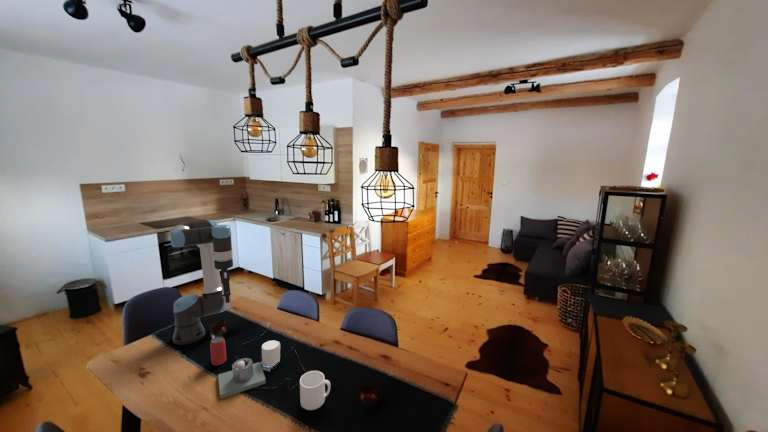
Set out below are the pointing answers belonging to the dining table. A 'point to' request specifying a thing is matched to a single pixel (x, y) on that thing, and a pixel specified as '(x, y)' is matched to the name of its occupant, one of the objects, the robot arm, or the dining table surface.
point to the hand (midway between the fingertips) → (226, 302)
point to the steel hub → (242, 370)
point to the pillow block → (231, 387)
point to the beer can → (218, 351)
